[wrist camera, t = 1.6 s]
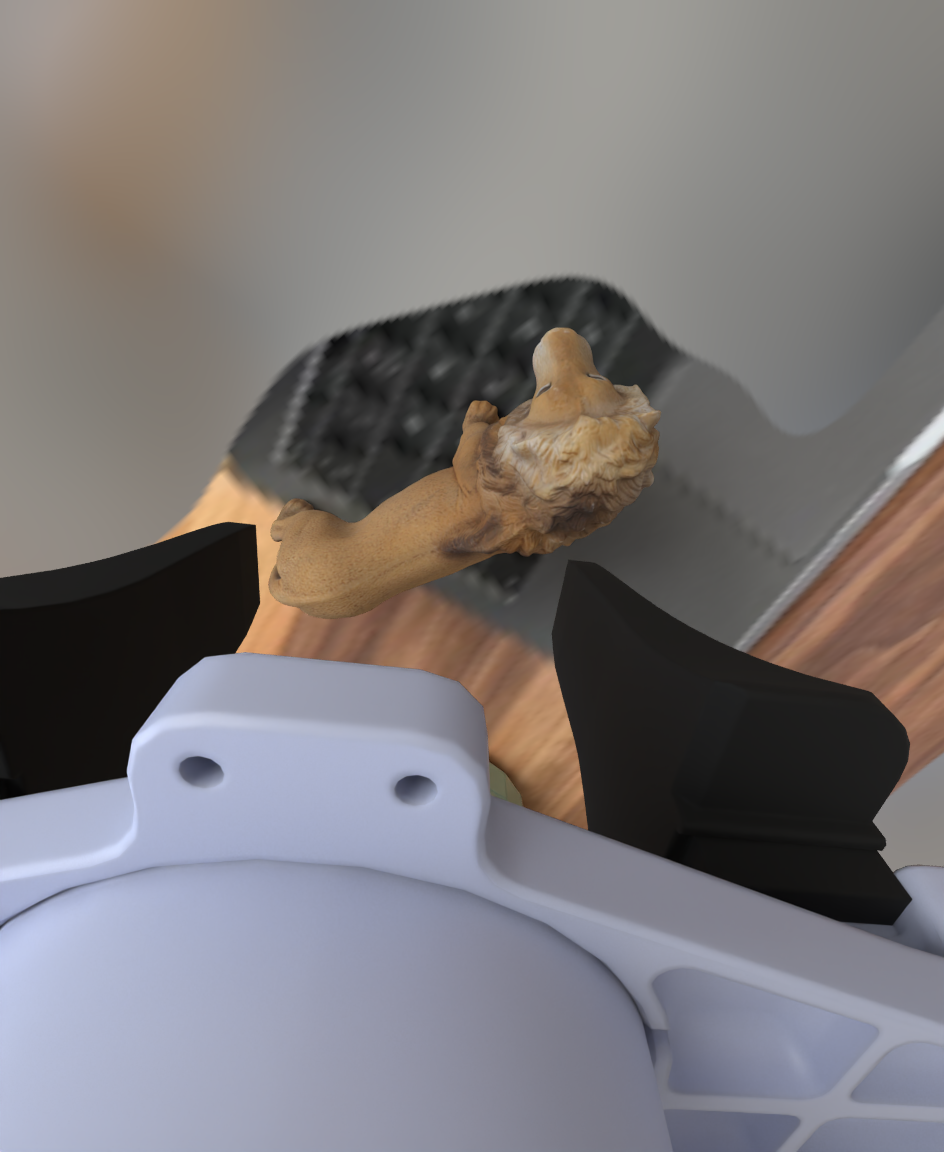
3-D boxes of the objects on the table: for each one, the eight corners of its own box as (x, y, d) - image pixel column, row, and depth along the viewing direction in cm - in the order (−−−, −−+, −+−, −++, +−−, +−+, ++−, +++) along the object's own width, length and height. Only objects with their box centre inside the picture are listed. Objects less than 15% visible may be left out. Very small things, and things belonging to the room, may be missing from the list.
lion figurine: (554, 294, 19) (619, 299, 11) (629, 426, 21) (732, 512, 13) (243, 531, 22) (118, 664, 14) (331, 622, 24) (265, 784, 16)
